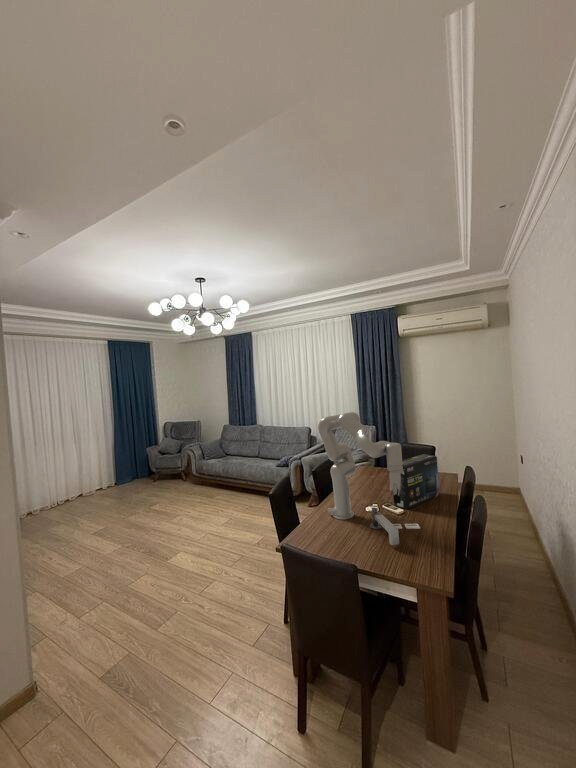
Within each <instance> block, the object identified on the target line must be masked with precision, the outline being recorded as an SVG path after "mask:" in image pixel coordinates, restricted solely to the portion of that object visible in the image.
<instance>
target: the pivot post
mask: <svg viewBox="0 0 576 768" xmlns="http://www.w3.org/2000/svg"><path fill="white" fill-rule="evenodd" d="M375 512H378V508H377V507H375V506H373V507H371V514H372V513H375ZM371 519H372V522H371V523H370V524H369V528H370V529H372V530H380V529H382V526H381V525H380V524H379V523H378V522H377V521H376V520H375V519H374V518H373V516H372V515H371Z"/></svg>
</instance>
